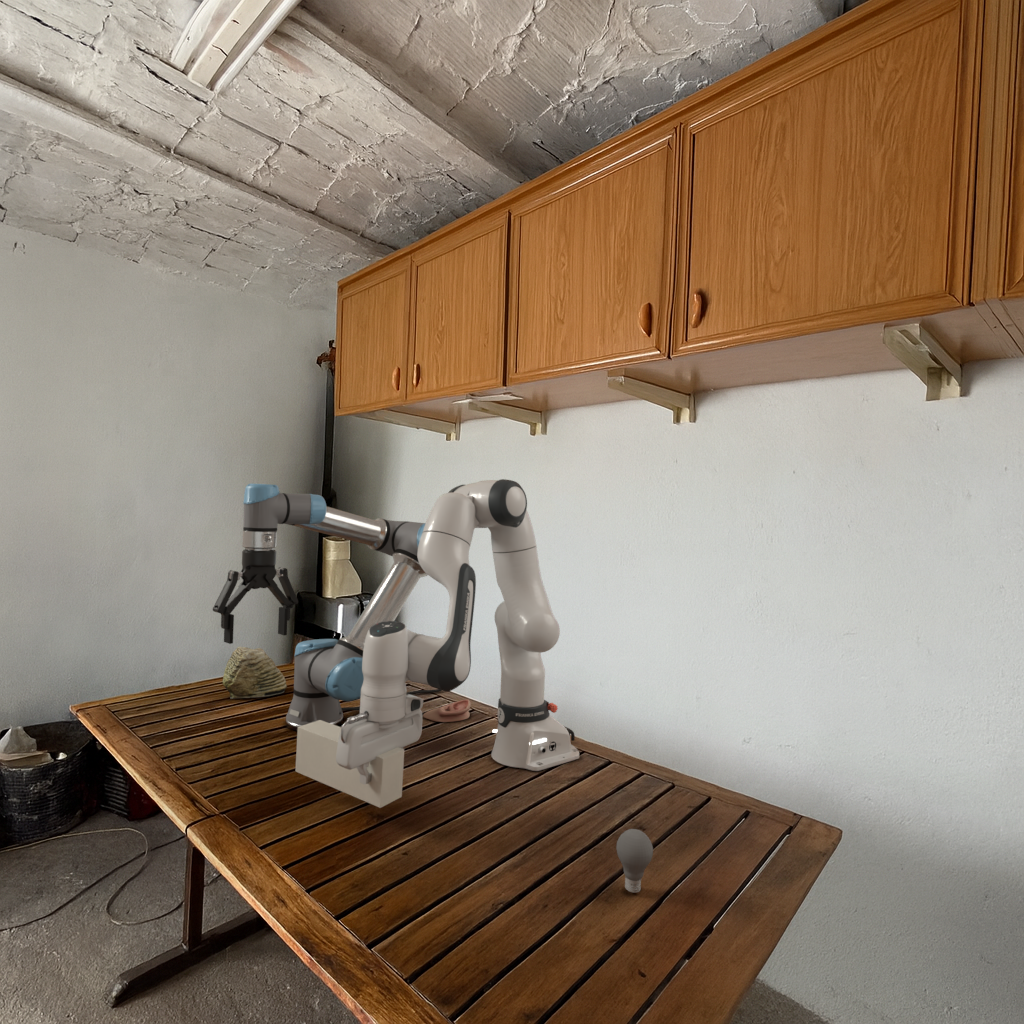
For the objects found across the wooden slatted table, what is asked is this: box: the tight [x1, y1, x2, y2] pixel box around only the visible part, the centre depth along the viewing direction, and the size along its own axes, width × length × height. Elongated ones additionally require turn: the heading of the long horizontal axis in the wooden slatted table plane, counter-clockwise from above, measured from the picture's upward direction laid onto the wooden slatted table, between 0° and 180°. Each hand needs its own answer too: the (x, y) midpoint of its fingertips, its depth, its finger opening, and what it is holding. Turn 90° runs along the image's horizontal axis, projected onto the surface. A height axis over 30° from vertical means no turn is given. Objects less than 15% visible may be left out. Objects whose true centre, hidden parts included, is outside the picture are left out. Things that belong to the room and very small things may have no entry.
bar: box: [295, 720, 405, 809], centre depth 129 cm, size 25×6×9 cm, turn 57°
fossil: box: [222, 646, 288, 699], centre depth 198 cm, size 9×18×15 cm, turn 132°
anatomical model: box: [422, 699, 472, 723], centre depth 186 cm, size 13×4×12 cm
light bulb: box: [615, 828, 654, 894], centre depth 106 cm, size 6×6×10 cm
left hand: (256, 638), depth 150 cm, fingers open, 13 cm apart
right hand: (379, 776), depth 124 cm, fingers closed on bar, 6 cm apart
